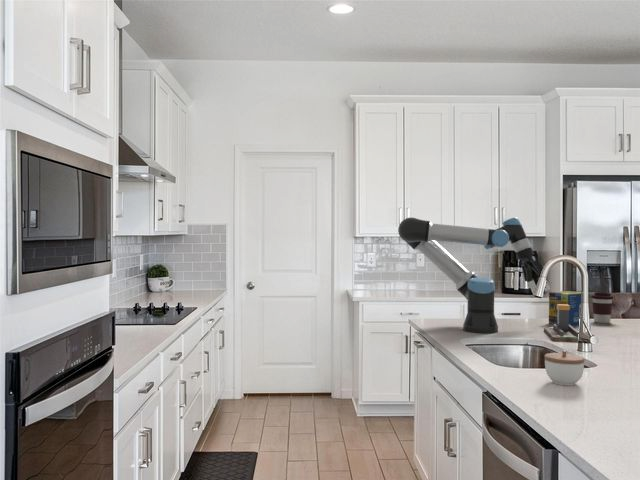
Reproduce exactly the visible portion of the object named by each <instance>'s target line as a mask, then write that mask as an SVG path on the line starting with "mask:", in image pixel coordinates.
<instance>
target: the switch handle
mask: <svg viewBox="0 0 640 480" xmlns="http://www.w3.org/2000/svg"><path fill="white" fill-rule="evenodd" d="M557 309H558V317H557V326H558V327H559V328H560V329H561V330H563V331H569V310H570V305H568V304H557Z"/></svg>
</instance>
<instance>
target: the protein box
mask: <svg viewBox="0 0 640 480" xmlns="http://www.w3.org/2000/svg"><path fill="white" fill-rule="evenodd" d="M557 304H568V305H570V310H569V325H571V326H572V327H575V326H580V325H579V319H580V308H581V291H573V290H571V291H570V290H563V291H551V292H548V325H549V324H550V325H553V324H556V325H557V317H558V309H557Z"/></svg>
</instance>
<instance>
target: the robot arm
mask: <svg viewBox="0 0 640 480" xmlns="http://www.w3.org/2000/svg"><path fill="white" fill-rule="evenodd" d="M397 231H398V233H397V234H398V235H399V237H400V239H401V240H402V241H404V242H405V243H407V245H408V246H409V247H410V248H412V249H413V251H415V250H416V251H419V252H421V253H422V254H423V255H424V256H425V257H426V258H427V259H428V260H429V261H430V262H431V263H432V264H434V266H435V267H436V268H438V269H439V270H440V271H441V272H442V273H443V274H444V275H445V276H446V277H448V278H449V279H450V280H451V281H452V282H453V283H454V284H455V289H456V291H458V292H459V293H460V294H461V295H462V296H463V297H464V299H465V300H467V304H466V305H467V308H466V309H467V313H466V316H465V318H464V322H463V325H462V326H463V327H462V329H463V331H466V332H470V333H477V334H493V333H498V331H499V325H498V321H497V319H496V317H495V289H496V286H495V281H494V280H493V279H492V278H488V277H480V276H479V275H478V274H477V273H476V272H475V271H473V270H471V271H469V270H468V269H467V268H466V267H464V266H463V264H461V263H460V262H459V261H458V260H457V259H456V258H455V257H454V256H453V255H452V254H450V253H449V252H448V250H446V249H445V248H444V247H443V246H442V245H441V244H439V242H448V243H456V244H457V243H458V244H459V243H461V244H469V245H479V246H483V247H484V248H485V250H490V249H494V248H496V247H497V248H503V247H505V246H507V244H508V243H509V242H510V244H511V246H512V248H513V251H514V252H515V255H516V257H517V259H518V261H520V266H521V269H522V274H523V279H524V282H527V284H528V285H529V288H530V290H531V293H532V295H533V294H534V291H535V288H536V287H537V285H536V283H535V279H534V278H533V273H532V271H534V272H535V274H536V275H537V278H538V279H539V278H540V274H541V271H542V269H543V268H544V267H543V266H542V264H541V263H540V260H538V258H537V257H536V255H535V252H534V250H533V247H531V244H530V240H529V239H528V236H527V234H526V232H525V230H524V228H523V225H522V223H521V221H520V220H519V218H518V217H511V218H509V219H506V220H505V221H503V222H502V226H501V227H498V228H495V229H491V228H483V227H473V226H472V227H471V226H463V225H462V226H461V225H451V224H441V223H432V222H431V220H424V219H419V218H415V217H406V218H404V219H403V220H402V221H401V222H400V223H399V225H398V229H397ZM533 255H534V256H533ZM521 260H522V261H521ZM550 290H552V289H551V287H550V284H549V282H548V281H547V282H546V288H545V291H544V292H548V291H550Z"/></svg>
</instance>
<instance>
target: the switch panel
mask: <svg viewBox="0 0 640 480" xmlns="http://www.w3.org/2000/svg"><path fill="white" fill-rule="evenodd" d="M578 330H579V329H578V328H574V326H571V325H569V331H563V330H561V329H560V328H559V327H558V326H557V325H556V324H552V326H551V327H550V326H549V327H544V328H543V331H544V332H545V334H546V335H547V336H548V337H549V338H550V340H551V341H553V342H569V343H572V342H573V343H578V342H577V341H578V334H579V332H578Z"/></svg>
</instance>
